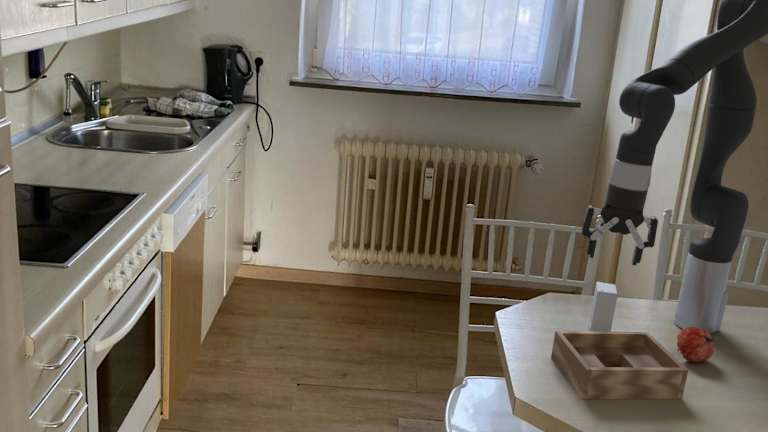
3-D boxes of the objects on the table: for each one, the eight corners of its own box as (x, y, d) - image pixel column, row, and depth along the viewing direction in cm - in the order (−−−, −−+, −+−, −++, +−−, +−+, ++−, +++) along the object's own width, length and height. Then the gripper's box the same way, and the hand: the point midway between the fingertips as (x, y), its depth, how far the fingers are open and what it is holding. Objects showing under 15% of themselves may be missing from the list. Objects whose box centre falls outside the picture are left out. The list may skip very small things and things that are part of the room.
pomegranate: (666, 365, 164) (699, 357, 155) (661, 331, 166) (693, 321, 158) (694, 367, 166) (728, 358, 158) (689, 333, 169) (722, 323, 160)
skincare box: (608, 346, 165) (618, 294, 162) (588, 343, 166) (597, 291, 163) (606, 334, 171) (615, 284, 168) (586, 331, 172) (595, 281, 168)
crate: (642, 358, 161) (647, 332, 159) (682, 398, 146) (688, 370, 144) (550, 357, 158) (555, 331, 156) (581, 399, 143) (587, 369, 141)
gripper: (663, 186, 157) (645, 261, 161) (591, 174, 159) (576, 249, 164) (668, 194, 150) (650, 272, 154) (593, 181, 152) (577, 259, 157)
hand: (612, 260), depth 159 cm, fingers open, 8 cm apart
